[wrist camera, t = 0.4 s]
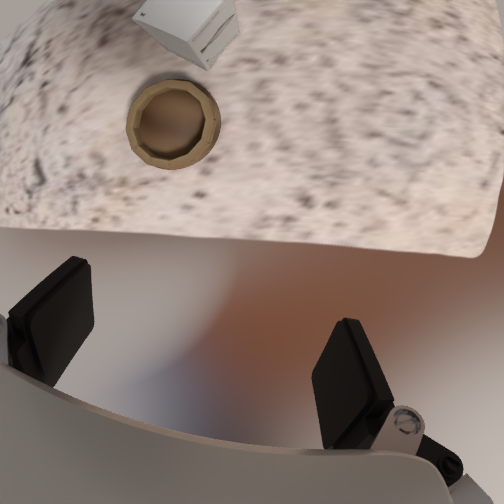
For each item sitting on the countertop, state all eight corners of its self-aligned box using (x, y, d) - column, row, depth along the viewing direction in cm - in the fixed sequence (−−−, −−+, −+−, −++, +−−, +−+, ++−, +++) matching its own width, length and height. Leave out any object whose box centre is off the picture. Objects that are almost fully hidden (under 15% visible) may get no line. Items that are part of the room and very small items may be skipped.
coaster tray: (145, 77, 32) (135, 72, 28) (230, 89, 33) (228, 84, 29) (127, 160, 36) (116, 163, 33) (209, 176, 37) (204, 180, 34)
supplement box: (208, 72, 32) (185, 44, 20) (164, 49, 30) (127, 18, 18) (242, 32, 29) (235, -11, 18) (197, 9, 28) (174, -34, 16)
